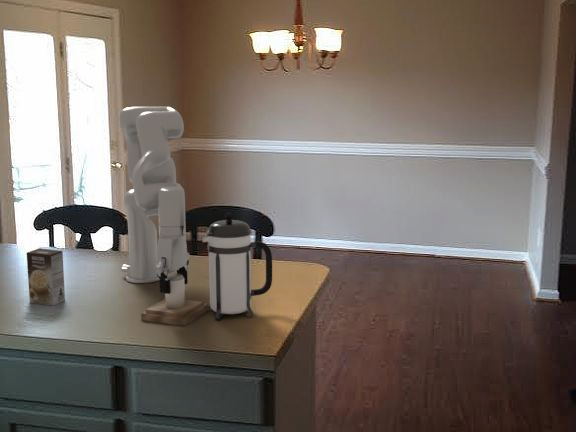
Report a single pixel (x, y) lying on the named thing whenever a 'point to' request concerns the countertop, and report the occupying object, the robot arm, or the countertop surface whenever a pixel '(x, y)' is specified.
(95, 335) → the countertop surface
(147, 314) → the plinth
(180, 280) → the canister
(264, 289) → the coffee press
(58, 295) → the coffee box
